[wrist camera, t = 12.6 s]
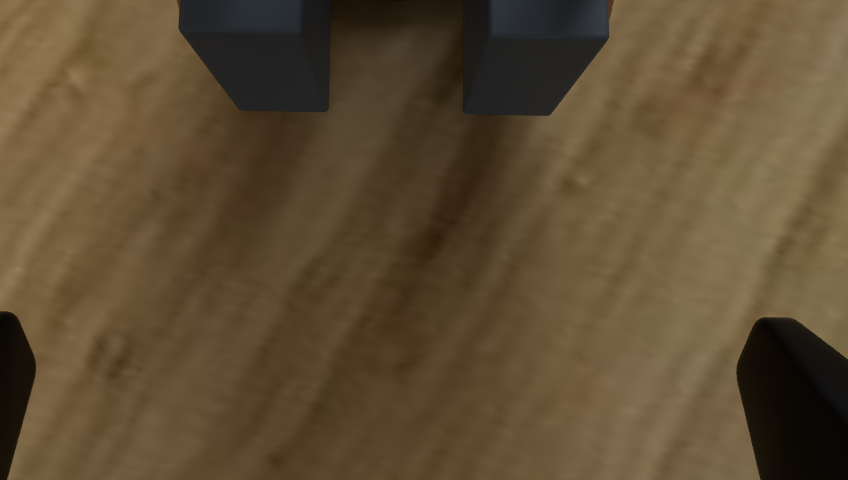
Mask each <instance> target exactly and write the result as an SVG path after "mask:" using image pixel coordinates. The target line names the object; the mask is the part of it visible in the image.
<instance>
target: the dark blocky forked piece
mask: <svg viewBox="0 0 848 480" xmlns="http://www.w3.org/2000/svg"><path fill="white" fill-rule="evenodd" d="M613 1H614V0H463V111H464V113H465V114H474V115H533V116H548V115H551V113H552V112H553V111H554V109H555V108H556V107H557V106H558V104H559V103H560V102H561V100H562V99H563V98H564V96H565V95H566V94H567V93H568V91H569V90H570V89H571V87H572V86H573V85H574V83H575V82H576V81H577V79H578V78H579V77H580V76H581V74H582V73H583V72H584V70H585V69H586V68H587V66H588V65H589V64H590V63H591V61H592V60H593V59H594V57H595V56H596V55H597V53H598V52H599V51H600V50H601V48H602V47H603V46H604V44H605V43H606V42H607V40H608V38H609V19H610V15H611V11H612V6H613ZM177 2H178V6H179V30H180V32H181V33H182V35H183V36H184V37H185V39H186V40H187V41H188V43H189V44H190V45H191V47H192V48H193V49H194V51H195V52H196V53H197V55H198V56H199V57H200V59H201V60H202V61H203V62H204V64H205V65H206V66H207V68H208V69H209V70H210V72H211V73H212V74H213V76H214V77H215V78H216V80H217V81H218V82H219V84H220V85H221V86H222V88H223V89H224V90H225V91H226V93H227V94H228V95H229V97H230V98H231V99H232V101H233V102H234V103H235V105H236V106H237V107H238V109H239V110H242V111H293V112H326V111H327V110H328V108H329V62H330V12H331V0H177Z"/></svg>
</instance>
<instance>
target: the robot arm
mask: <svg viewBox="0 0 848 480" xmlns="http://www.w3.org/2000/svg"><path fill="white" fill-rule="evenodd" d="M35 374H36V362H35V357H34V354H33V352H32V350H31V347H30V345H29V343H28V340H27V338H26V336H25V333H24V331H23V328H22V326H21V324H20V321H19V320H18V318H17V316H15V315H14V314H13V313H11V312H8V311H0V480H7V478H8V475H9V471H10V468H11V464H12V460H13V457H14V453H15V449H16V446H17V442H18V438H19V434H20V431H21V427H22V423H23V420H24V416H25V412H26V409H27V405H28V401H29V398H30V394H31V390H32V386H33V383H34V379H35ZM736 374H737V382H738V386H739V391H740V395H741V399H742V403H743V408H744V412H745V416H746V420H747V425H748V429H749V433H750V437H751V442H752V446H753V450H754V454H755V459H756V463H757V467H758V471H759V475H760V479H761V480H848V359H847V358H845V357H844V356H843V355H841V354H840V353H839V352H838V351H836V350H835V349H834V348H832V347H831V346H830V345H828V344H827V343H826V342H824V341H823V340H822V339H821V338H819V337H818V336H817V335H815V334H814V333H813V332H811V331H810V330H809V329H807V328H806V327H805V326H804V325H802V324H801V323H800V322H798V321H796V320H795V319H792V318H776V317H764V318H760V319H758V320H757V321H756V322H755V324H754V325H753V327H752V330H751V332H750V334H749V337H748V339H747V341H746V344H745V346H744V348H743V351H742V353H741V355H740V358H739V360H738V363H737V372H736Z"/></svg>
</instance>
